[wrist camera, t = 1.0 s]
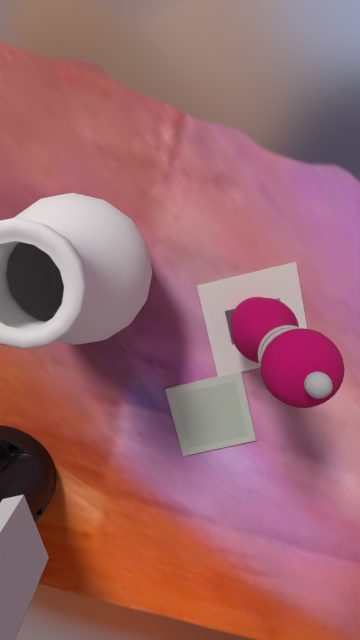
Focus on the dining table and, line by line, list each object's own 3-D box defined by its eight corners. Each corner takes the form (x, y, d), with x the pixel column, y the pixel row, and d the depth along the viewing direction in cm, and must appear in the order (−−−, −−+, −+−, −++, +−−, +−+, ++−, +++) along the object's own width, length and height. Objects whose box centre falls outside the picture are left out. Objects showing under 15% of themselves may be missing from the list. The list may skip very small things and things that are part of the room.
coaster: (183, 455, 45) (183, 456, 45) (165, 388, 43) (164, 389, 43) (255, 439, 45) (256, 440, 45) (240, 371, 43) (241, 371, 42)
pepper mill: (295, 329, 41) (399, 404, 22) (245, 360, 42) (302, 459, 23) (265, 280, 40) (347, 314, 20) (214, 313, 41) (246, 376, 21)
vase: (61, 182, 38) (-66, 115, 18) (176, 235, 39) (172, 224, 20) (21, 296, 41) (-124, 343, 21) (130, 342, 42) (87, 426, 22)
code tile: (217, 376, 43) (218, 377, 43) (196, 285, 40) (196, 285, 40) (310, 355, 42) (311, 355, 42) (295, 261, 40) (295, 261, 40)
